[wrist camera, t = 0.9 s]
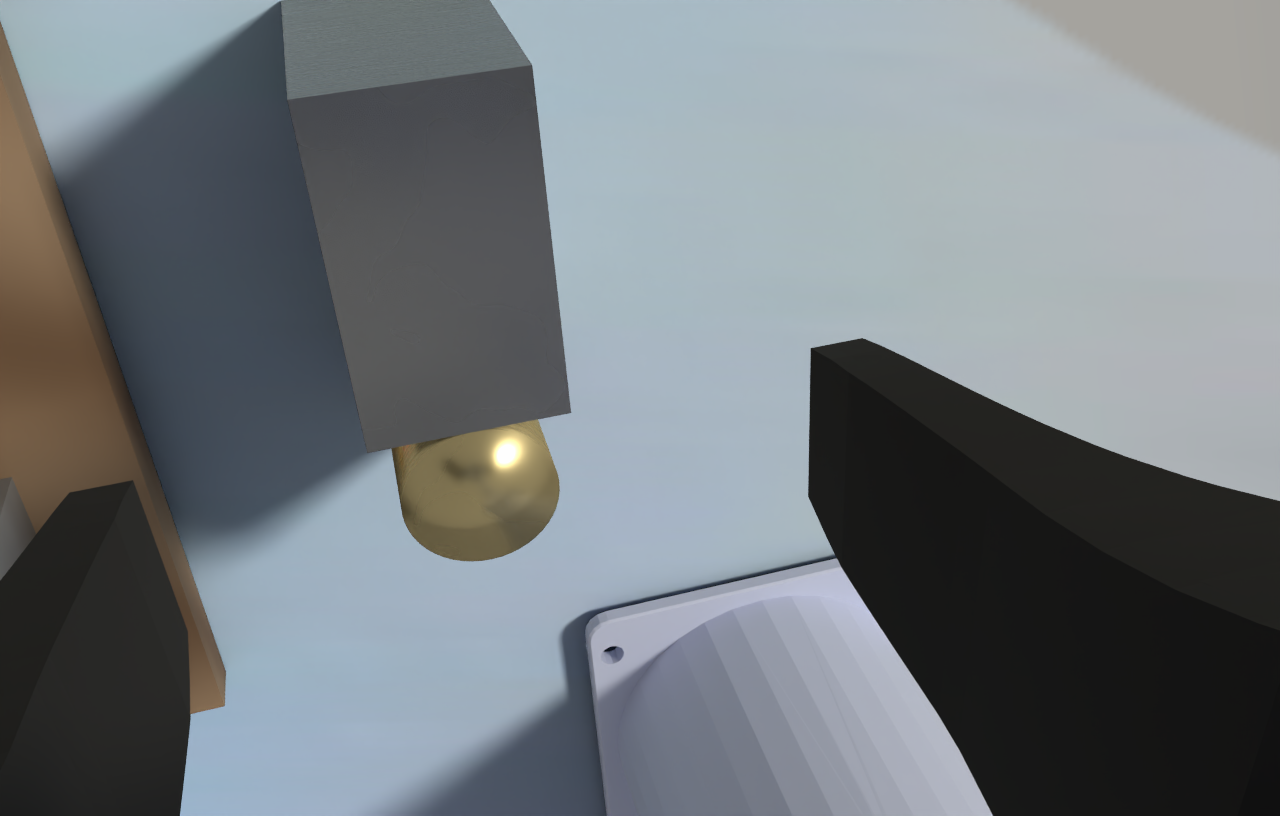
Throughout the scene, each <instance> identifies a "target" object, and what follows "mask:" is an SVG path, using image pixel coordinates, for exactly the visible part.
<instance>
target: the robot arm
mask: <svg viewBox="0 0 1280 816" xmlns="http://www.w3.org/2000/svg"><path fill="white" fill-rule="evenodd" d="M808 497H809V499H810V501H811V503H812V506H813V508H814V510H815V512H816V515H817V517H818V519H819V521H820V523H821V526H822V528H823V530H824V532H825V535H826V537H827V539H828V541H829V543H830V545H831V547H832V549H833V551H834V553H835V555H836V557H837V558H836V559H832V560H827V561H823V562H819V563H814V564H810V565H805V566H801V567H797V568H792V569H788V570H784V571H779V572H775V573H771V574H766V575H762V576H757V577H753V578H749V579H744V580H740V581H736V582H731V583H727V584H723V585H718V586H714V587H709V588H705V589H701V590H696V591H692V592H688V593H683V594H679V595H675V596H670V597H666V598H661V599H657V600H653V601H648V602H644V603H640V604H635V605H631V606H627V607H622V608H618V609H613V610H609V611H605V612H602V613H600V614H597V615H596V616H595V617H593V618H592V619H591V620H590V621H589V623H588V624H587V626H586V630H585V636H586V645H587V653H588V662H589V670H590V679H591V687H592V696H593V704H594V713H595V721H596V730H597V738H598V747H599V755H600V764H601V772H602V781H603V789H604V797H605V806H606V814H607V816H1280V501H1277V500H1273V499H1269V498H1265V497H1261V496H1257V495H1253V494H1249V493H1245V492H1241V491H1237V490H1233V489H1229V488H1225V487H1221V486H1217V485H1214V484H1210V483H1207V482H1203V481H1200V480H1196V479H1193V478H1189V477H1186V476H1183V475H1180V474H1177V473H1174V472H1171V471H1168V470H1165V469H1162V468H1159V467H1156V466H1153V465H1150V464H1146V463H1143V462H1140V461H1137V460H1134V459H1131V458H1128V457H1125V456H1123V455H1120V454H1117V453H1115V452H1112V451H1109V450H1106V449H1104V448H1101V447H1099V446H1096V445H1093V444H1091V443H1089V442H1086V441H1084V440H1081V439H1079V438H1076V437H1074V436H1072V435H1069V434H1067V433H1064V432H1062V431H1060V430H1057V429H1055V428H1052V427H1050V426H1048V425H1045V424H1043V423H1041V422H1038V421H1036V420H1034V419H1032V418H1030V417H1027V416H1025V415H1023V414H1021V413H1018V412H1016V411H1014V410H1012V409H1010V408H1008V407H1006V406H1003V405H1001V404H999V403H997V402H995V401H993V400H991V399H989V398H987V397H985V396H982V395H980V394H978V393H976V392H974V391H972V390H970V389H968V388H966V387H964V386H962V385H960V384H958V383H956V382H954V381H952V380H950V379H948V378H946V377H944V376H942V375H940V374H938V373H936V372H934V371H932V370H930V369H928V368H926V367H924V366H922V365H920V364H918V363H916V362H914V361H912V360H910V359H908V358H906V357H904V356H902V355H899V354H897V353H895V352H893V351H891V350H889V349H887V348H885V347H882V346H880V345H878V344H875V343H873V342H870V341H868V340H866V339H863V338H861V339H856V340H851V341H846V342H841V343H836V344H830V345H825V346H820V347H815V348H811V370H810V428H809V486H808ZM611 646H617V647H616V649H614V650H612V651H610V652H603V651H604V650H605V649H607V648H609V647H611ZM189 728H190V671H189V644H188V630H187V628H186V625H185V622H184V619H183V617H182V614H181V611H180V608H179V606H178V603H177V600H176V597H175V594H174V592H173V589H172V586H171V583H170V581H169V578H168V575H167V572H166V570H165V567H164V564H163V561H162V559H161V556H160V553H159V550H158V548H157V545H156V542H155V539H154V536H153V534H152V531H151V528H150V525H149V523H148V520H147V517H146V514H145V512H144V509H143V506H142V503H141V501H140V498H139V495H138V492H137V490H136V487H135V484H134V481H133V480H131V481H126V482H121V483H116V484H111V485H106V486H100V487H95V488H90V489H85V490H80V491H75V492H70V493H68V495H67V496H66V497H65V498H64V499H63V501H62V502H61V503H60V504H59V506H58V507H57V508H56V509H55V511H54V512H53V513H52V514H51V516H50V517H49V518H48V520H47V521H46V522H45V523H44V525H43V526H42V527H41V529H40V530H39V531H38V533H37V534H36V535H35V537H34V538H33V539H32V540H31V542H30V543H29V544H28V546H27V547H26V548H25V550H24V551H23V552H22V553H21V555H20V556H19V557H18V559H17V560H16V561H15V562H14V564H13V565H12V566H11V568H10V569H9V570H8V571H7V573H6V574H5V575H4V576H3V578H2V579H1V580H0V816H180V809H181V800H182V792H183V783H184V774H185V765H186V756H187V747H188V738H189Z"/></svg>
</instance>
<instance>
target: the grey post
mask: <svg viewBox="0 0 1280 816" xmlns="http://www.w3.org/2000/svg"><path fill="white" fill-rule="evenodd" d="M281 9H282V25H283V41H284V56H285V72H286V87H287V101H288V105H289V110H290V114H291V118H292V123H293V127H294V132H295V136H296V140H297V145H298V149H299V154H300V158H301V162H302V167H303V171H304V176H305V180H306V185H307V189H308V193H309V198H310V202H311V207H312V211H313V215H314V220H315V224H316V229H317V233H318V237H319V242H320V246H321V251H322V255H323V260H324V264H325V268H326V273H327V277H328V282H329V286H330V290H331V295H332V299H333V304H334V308H335V312H336V317H337V321H338V326H339V330H340V335H341V339H342V343H343V348H344V352H345V357H346V361H347V365H348V370H349V374H350V379H351V383H352V387H353V392H354V396H355V401H356V405H357V410H358V414H359V418H360V423H361V427H362V432H363V436H364V440H365V445H366V449H367V453H370V452H375V451H380V450H385V449H390V448H391V449H392V455H393V461H394V467H395V473H396V479H397V485H398V491H399V497H400V503H401V509H402V515H403V518H404V522H405V524H406V526H407V528H408V530H409V531H410V533H411V534H412V536H413V537H414V538H415V539H416V540H417V541H418V542H419V543H420V544H421V545H422V546H424V547H425V548H426V549H428V550H430V551H431V552H433V553H435V554H438V555H440V556H442V557H446V558H449V559H453V560H460V561H483V560H489V559H494V558H498V557H501V556H504V555H507V554H509V553H512V552H514V551H516V550H518V549H520V548H521V547H523V546H524V545H526V544H528V543H529V542H530V541H531V540H533V539H534V538H535V537H536V536H537V535H538V534H539V533H540V532H541V531H542V530H543V529H544V528H545V526H546V525H547V524H548V522H549V521H550V519H551V517H552V516H553V514H554V511H555V509H556V506H557V503H558V499H559V491H560V489H559V479H558V474H557V471H556V468H555V466H554V463H553V460H552V457H551V454H550V452H549V449H548V446H547V443H546V441H545V438H544V435H543V432H542V430H541V427H540V424H539V421H538V419H542V418H547V417H552V416H557V415H562V414H567V413H571V409H570V400H569V391H568V382H567V373H566V364H565V355H564V346H563V337H562V328H561V319H560V310H559V301H558V292H557V283H556V274H555V265H554V257H553V248H552V239H551V230H550V221H549V212H548V203H547V194H546V185H545V176H544V167H543V158H542V149H541V140H540V131H539V122H538V113H537V105H536V96H535V87H534V78H533V69H532V64H531V63H530V61H529V60H528V58H527V57H526V55H525V53H524V52H523V50H522V49H521V47H520V46H519V44H518V43H517V41H516V40H515V38H514V37H513V35H512V34H511V32H510V31H509V29H508V28H507V26H506V25H505V23H504V22H503V20H502V19H501V17H500V16H499V14H498V12H497V11H496V9H495V8H494V6H493V5H492V3H491V2H490V0H283V1H281Z"/></svg>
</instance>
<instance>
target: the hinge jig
mask: <svg viewBox="0 0 1280 816" xmlns="http://www.w3.org/2000/svg"><path fill="white" fill-rule="evenodd" d="M131 480H133V481H134V484H135V487H136V490H137V492H138V495H139V498H140V501H141V503H142V506H143V509H144V512H145V514H146V517H147V520H148V523H149V525H150V528H151V531H152V534H153V536H154V539H155V542H156V545H157V548H158V550H159V553H160V556H161V559H162V561H163V564H164V567H165V570H166V572H167V575H168V578H169V581H170V583H171V586H172V589H173V592H174V594H175V597H176V600H177V603H178V606H179V608H180V611H181V614H182V617H183V619H184V622H185V625H186V628H187V630H188V644H189V671H190V714H192V713H197V712H201V711H205V710H210V709H214V708H218V707H223V706H225V680H226V671H225V668H224V665H223V662H222V659H221V656H220V653H219V651H218V648H217V645H216V642H215V639H214V636H213V633H212V630H211V627H210V625H209V622H208V619H207V616H206V613H205V610H204V607H203V604H202V602H201V599H200V596H199V593H198V590H197V587H196V584H195V581H194V578H193V576H192V573H191V570H190V567H189V564H188V561H187V558H186V555H185V553H184V550H183V547H182V544H181V541H180V538H179V535H178V532H177V529H176V527H175V524H174V521H173V518H172V515H171V512H170V509H169V506H168V504H167V501H166V498H165V495H164V492H163V489H162V486H161V483H160V480H159V478H158V475H157V472H156V469H155V466H154V463H153V460H152V457H151V455H150V452H149V449H148V446H147V443H146V440H145V437H144V434H143V431H142V429H141V426H140V423H139V420H138V417H137V414H136V411H135V408H134V406H133V403H132V400H131V397H130V394H129V391H128V388H127V385H126V382H125V380H124V377H123V374H122V371H121V368H120V365H119V362H118V359H117V357H116V354H115V351H114V348H113V345H112V342H111V339H110V336H109V333H108V331H107V328H106V325H105V322H104V319H103V316H102V313H101V310H100V308H99V305H98V302H97V299H96V296H95V293H94V290H93V287H92V285H91V282H90V279H89V276H88V273H87V270H86V267H85V264H84V261H83V259H82V256H81V253H80V250H79V247H78V244H77V241H76V238H75V236H74V233H73V230H72V227H71V224H70V221H69V218H68V215H67V212H66V210H65V207H64V204H63V201H62V198H61V195H60V192H59V189H58V187H57V184H56V181H55V178H54V175H53V172H52V169H51V166H50V163H49V161H48V158H47V155H46V152H45V149H44V146H43V143H42V140H41V138H40V135H39V132H38V129H37V126H36V123H35V120H34V117H33V114H32V112H31V109H30V106H29V103H28V100H27V97H26V94H25V91H24V89H23V86H22V83H21V80H20V77H19V74H18V71H17V68H16V65H15V63H14V60H13V57H12V54H11V51H10V48H9V45H8V42H7V40H6V37H5V34H4V31H3V28H2V25H1V22H0V580H1V579H2V578H3V576H4V575H5V574H6V573H7V571H8V570H9V569H10V568H11V566H12V565H13V564H14V562H15V561H16V560H17V559H18V557H19V556H20V555H21V553H22V552H23V551H24V550H25V548H26V547H27V546H28V544H29V543H30V542H31V540H32V539H33V538H34V537H35V535H36V534H37V533H38V531H39V530H40V529H41V527H42V526H43V525H44V523H45V522H46V521H47V520H48V518H49V517H50V516H51V514H52V513H53V512H54V511H55V509H56V508H57V507H58V506H59V504H60V503H61V502H62V501H63V499H64V498H65V497H66V496H67V495H68V493H70V492H75V491H80V490H85V489H90V488H95V487H100V486H106V485H111V484H116V483H121V482H126V481H131Z"/></svg>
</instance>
